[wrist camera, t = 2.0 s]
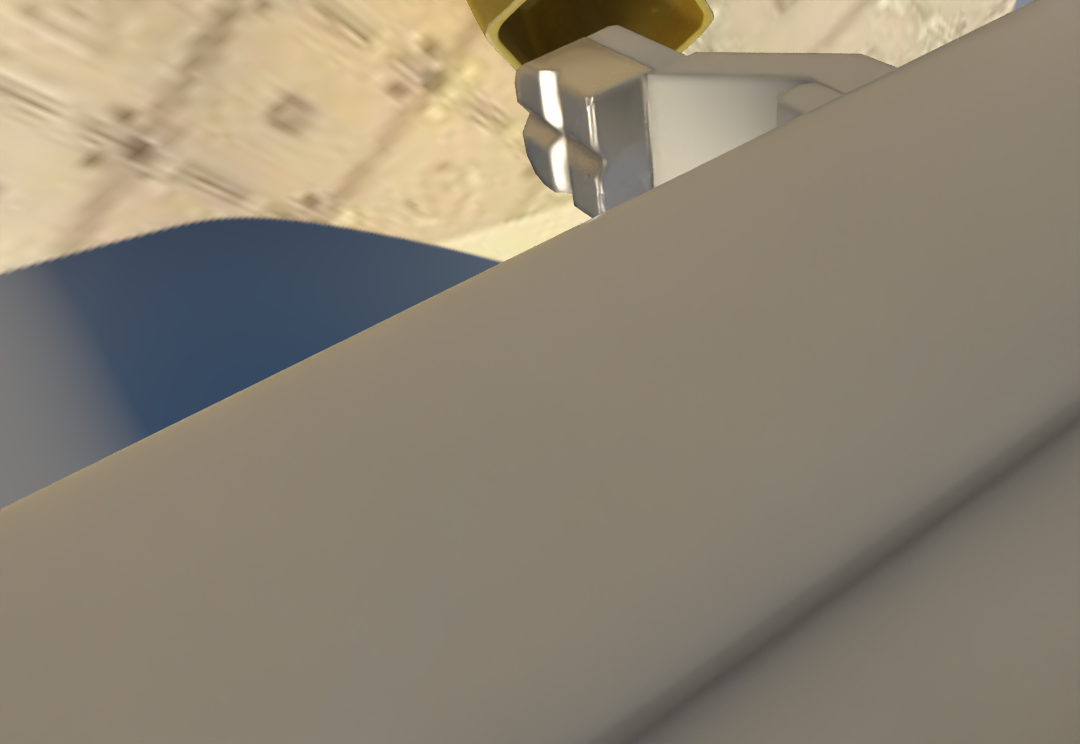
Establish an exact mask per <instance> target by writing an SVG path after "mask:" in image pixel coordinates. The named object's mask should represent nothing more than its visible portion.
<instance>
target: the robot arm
mask: <svg viewBox="0 0 1080 744" xmlns="http://www.w3.org/2000/svg"><path fill="white" fill-rule="evenodd" d="M515 88H516V95H517V102H518V103H519V104H520V105H522V106H523V107H524V108H525V109H526V110H527V111H528V112H529V113H530V114H529V117H528V119H527V122H526V125H525V128H524V130H523V137H524V142H525V147H526V152H527V156H528V158H529V160H530V163H531V165H532V167H533V169H534V171H535V173H536V175H537V176H538V177H539V178H540V180H541V181H542V182H543V183H544V184H545V185H546V186H547V187H549V188H550V189H551V190H553V191H554V192H557V193H566V194H573V200H574V206H576V207H577V208H578V209H580V210H581V211H583V212H584V213H586V214H587V215H589V216H590V217H592V219H590V220H588V221H586V222H584V223H582V224H580V225H578V226H576V227H574V228H572V229H570V230H568V231H565V232H563V233H561V234H559V235H557V236H555V237H553V238H551V239H549V240H547V241H545V242H543V243H541V244H539V245H537V246H535V247H533V248H531V249H529V250H527V251H525V252H523V253H521V254H519V255H517V256H515V257H513V258H511V259H509V260H506V261H504V262H502V263H500V264H498V265H496V266H494V267H492V268H490V269H488V270H486V271H484V272H482V273H480V274H478V275H476V276H474V277H472V278H470V279H468V280H466V281H464V282H462V283H460V284H458V285H456V286H454V287H452V288H450V289H448V290H445V291H443V292H441V293H439V294H437V295H435V296H433V297H431V298H429V299H427V300H425V301H423V302H421V303H419V304H417V305H415V306H413V307H411V308H409V309H407V310H405V311H403V312H401V313H399V314H397V315H395V316H393V317H391V318H388V319H387V320H385V321H383V322H381V323H378V324H376V325H374V326H372V327H370V328H368V329H366V330H364V331H362V332H360V333H358V334H356V335H354V336H352V337H350V338H348V339H346V340H344V341H342V342H340V343H338V344H336V345H334V346H332V347H329V348H328V349H325V350H323V351H322V352H319V353H317V354H315V355H313V356H311V357H309V358H307V359H305V360H303V361H301V362H299V363H297V364H295V365H293V366H291V367H289V368H287V369H285V370H283V371H281V372H279V373H277V374H275V375H273V376H271V377H269V378H266V379H265V380H263V381H260V382H258V383H256V384H254V385H252V386H250V387H248V388H246V389H245V390H242V391H240V392H238V393H236V394H234V395H232V396H230V397H228V398H226V399H224V400H222V401H220V402H218V403H216V404H214V405H212V406H209V407H207V408H206V409H203V410H201V411H199V412H197V413H195V414H194V415H191V416H189V417H187V418H185V419H183V420H181V421H179V422H177V423H175V424H173V425H171V426H169V427H167V428H165V429H163V430H161V431H159V432H157V433H155V434H153V435H150V436H148V437H146V438H144V439H142V440H140V441H138V442H136V443H134V444H132V445H130V446H128V447H126V448H124V449H122V450H120V451H118V452H116V453H114V454H112V455H110V456H108V457H106V458H104V459H102V460H100V461H98V462H96V463H94V464H92V465H90V466H88V467H86V468H83V469H81V470H79V471H77V472H75V473H73V474H71V475H69V476H67V477H65V478H63V479H61V480H59V481H57V482H55V483H53V484H51V485H49V486H47V487H45V488H43V489H41V490H39V491H37V492H35V493H33V494H31V495H28V496H26V497H24V498H22V499H20V500H18V501H16V502H14V503H12V504H10V505H8V506H6V507H4V508H2V509H0V744H1080V0H1034V1H1032V2H1030V3H1028V4H1026V5H1024V6H1022V7H1020V8H1018V9H1016V10H1014V11H1012V12H1010V13H1008V14H1006V15H1004V16H1002V17H1000V18H998V19H996V20H994V21H992V22H989V23H987V24H985V25H983V26H981V27H979V28H977V29H975V30H973V31H971V32H969V33H967V34H965V35H963V36H961V37H959V38H957V39H955V40H953V41H951V42H949V43H947V44H945V45H943V46H941V47H939V48H937V49H935V50H933V51H931V52H929V53H927V54H925V55H922V56H920V57H918V58H916V59H914V60H912V61H910V62H908V63H906V64H904V65H902V66H900V67H898V68H897V67H894V66H892V65H889V64H886V63H884V62H881V61H879V60H876V59H873V58H871V57H868V56H866V55H863V54H832V53H733V52H695V53H693V54H691V55H688V56H686V55H684V54H682V53H679V52H677V51H675V50H673V49H670V48H668V47H666V46H664V45H661V44H659V43H657V42H655V41H652V40H650V39H648V38H646V37H644V36H641V35H639V34H637V33H635V32H632V31H630V30H628V29H626V28H623V27H621V26H619V25H614V26H608V27H606V28H604V29H602V30H600V31H598V32H596V33H594V34H592V35H589V36H587V37H583V38H581V39H579V40H576V41H574V42H572V43H570V44H567V45H565V46H563V47H561V48H558V49H556V50H554V51H552V52H550V53H547V54H545V55H543V56H541V57H538V58H536V59H534V60H532V61H530V62H527V63H525V64H523V65H522V66H521V67H519V68H518V69H517V70H516V76H515Z"/></svg>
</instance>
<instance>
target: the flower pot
mask: <svg viewBox="0 0 1080 744" xmlns="http://www.w3.org/2000/svg"><path fill="white" fill-rule="evenodd" d="M467 2H468V4H469V6H470V8H471V10H472V12H473V14H474V16H475V18H476V20H477V22H478V24H479V26H480V28H481V29H482V31H483V33H484V35H485V37H486V39H487V40H488V42H489V43H490V44H491V45H492V46H493V47H494V48H495V49H496V50H497V51H498V52H499V53H500V54H501V55H502V57H503V58H504V59H505V60H506V61H507V62H508V63H509V64H510V65H511V66H512V67H513V68H514V69H515V70H517V69H518V68H519V67H521V66H522V65H523V64H525V63H527V62H530V61H532V60H534V59H536V58H538V57H541V56H543V55H545V54H547V53H550V52H552V51H554V50H556V49H558V48H561V47H563V46H565V45H567V44H570V43H572V42H574V41H576V40H579V39H581V38H583V37H587V36H589V35H592V34H594V33H596V32H598V31H600V30H602V29H604V28H606V27H608V26H614V25H619V26H621V27H623V28H626V29H628V30H630V31H632V32H635V33H637V34H639V35H641V36H644V37H646V38H648V39H650V40H652V41H655V42H657V43H659V44H661V45H664V46H666V47H668V48H670V49H673V50H675V51H677V52H679V53H682V52H683V51H684V50H685V49H686V48H688V47H689V46H690V45H691V44H692V43H693V42H694V41H695V40H696V39H697V38H699V37H700V36H701V35H702V34H703V32H704V31H705V30H706V29H707V28H708V26H709V25H710V24H711V23H712V21H713V20H714V14H713V12H712V10H711V8H710V7H709V5H708V4H707V2H706V1H705V0H467Z"/></svg>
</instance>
